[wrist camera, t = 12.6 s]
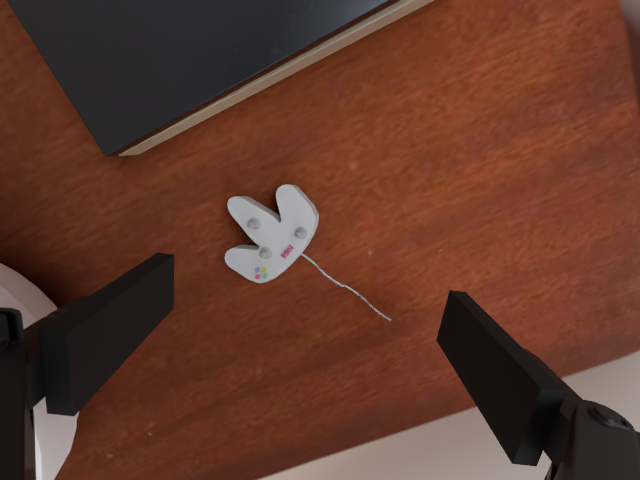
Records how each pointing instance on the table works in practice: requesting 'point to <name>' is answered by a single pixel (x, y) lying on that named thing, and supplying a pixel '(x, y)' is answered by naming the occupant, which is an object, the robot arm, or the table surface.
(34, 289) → the bowl
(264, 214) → the game controller
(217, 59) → the laptop screen
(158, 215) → the table surface
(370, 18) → the laptop
